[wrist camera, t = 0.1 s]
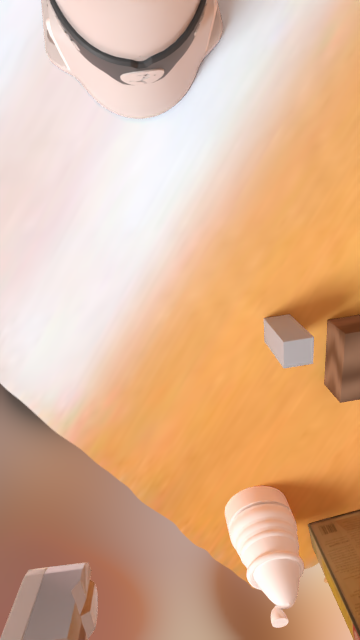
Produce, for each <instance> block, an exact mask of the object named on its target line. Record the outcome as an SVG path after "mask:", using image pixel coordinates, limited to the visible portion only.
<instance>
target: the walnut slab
mask: <svg viewBox="0 0 360 640" xmlns="http://www.w3.org/2000/svg"><path fill="white" fill-rule="evenodd" d="M324 384H325V386H326V387H327V388H328V389H329V390H330V391H331V392H332V394H333V395H334V396H335V397H336V398H337V399H338V401H339V402H340V403H341V402H347V401H353V400H359V399H360V315H356V316H350V317H343V318H337V319H331V320H328V323H327V343H326V362H325V382H324Z"/></svg>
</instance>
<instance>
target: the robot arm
mask: <svg viewBox="0 0 360 640" xmlns="http://www.w3.org/2000/svg"><path fill="white" fill-rule="evenodd" d="M41 4H42V16H43V28H44V40H45V49H46V53H47V55H48V57H49V59H50V61H51V62H52V63H53V64H54V65H55V66H57V67H58V68H60V69H61V70H63V71H65V72H66V73H68V74H70V75H72V76H74V77H75V78H76V79H77V80H78V81H79V82H80V83H81V84H82V85H83V87H84V88H85V89H86V90H87V92H88V93H89V94H90V95H91V96H92V97H93V98H94V99H95V100H96V101H97V102H98V103H99V104H101V105H102V106H103V107H105V108H106V109H108V110H110V111H111V112H113V113H115V114H118V115H121V116H124V117H128V118H135V119H143V118H150V117H154V116H157V115H160V114H162V113H164V112H166V111H168V110H169V109H171V108H172V107H173V106H175V105H176V104H177V103H178V102H179V101H180V100H181V99H182V98H183V96H184V95H185V94H186V92H187V91H188V89H189V88H190V86H191V84H192V82H193V80H194V78H195V75H196V73H197V71H198V68H199V66H200V64H201V62H202V60H203V58H204V57H205V56H206V55H207V54H208V53H209V52H210V51H211V50H212V49H213V48H214V47H215V46H216V45H217V43H218V42H219V40H220V38H221V35H222V30H223V25H222V19H221V15H220V10H219V6H218V1H217V0H41ZM90 576H91V569H90V566H89V563H88V562H87V563H78V564H71V565H62V566H55V567H46V568H39V569H33V570H29V571H28V573H27V574H26V575H25V577H24V578H23V581H22V584H21V586H20V589H19V591H18V594H17V596H16V599H15V602H14V604H13V607H12V610H11V612H10V615H9V617H8V620H7V623H6V625H5V628H4V630H3V633H2V636H1V639H0V640H88V639H89V637H90V635H91V634H92V633H93V631H94V630H95V627H96V619H97V609H98V607H97V606H98V596H97V589H96V585H95V583H94V582H93V581H91V580H90Z"/></svg>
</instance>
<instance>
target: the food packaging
mask: <svg viewBox="0 0 360 640" xmlns="http://www.w3.org/2000/svg"><path fill="white" fill-rule="evenodd" d="M308 526H309V531H310V536H311V541H312V546H313V549H314V552H315V554H316V556H317V558H318V561H319V563H320V565H321V568H322V570H323V572H324V575H325V577H326V579H327V581H328V584H329V586H330V588H331V590H332V592H333V595H334V597H335V599H336V601H337V603H338V606H339V608H340V610H341V612H342V615H343V617H344V619H345V621H346V624H347V626H348V628H349V630H350V633H351V635H352V637H353V640H360V510H359V511H355V512H351V513H347V514H344V515H340V516H336V517H333V518H327V519H324V520H321V521H318V522H314V523H311V524H308Z"/></svg>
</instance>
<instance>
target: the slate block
mask: <svg viewBox="0 0 360 640" xmlns="http://www.w3.org/2000/svg"><path fill="white" fill-rule="evenodd" d="M264 339H265V343H266V344H267V346H268V347H269V348H270V350H271V351H272V353H273V354H274V355H275V357H276V358H277V360H278V361H279V362H280V364H281V365H282V367H283V368H289V367H295V366H301V365H308V364H313V348H314V337H313V336H312V335H311V334H310V333H309V332H308V331H307V330H306V329H305V328H304V327H303V326H302V325H300V324H299V323H298V322H297V321H296V320H295V319H294V318H293V317H292V316H291V315H290V314H287V315H281V316H275V317H269V318H264Z"/></svg>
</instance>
